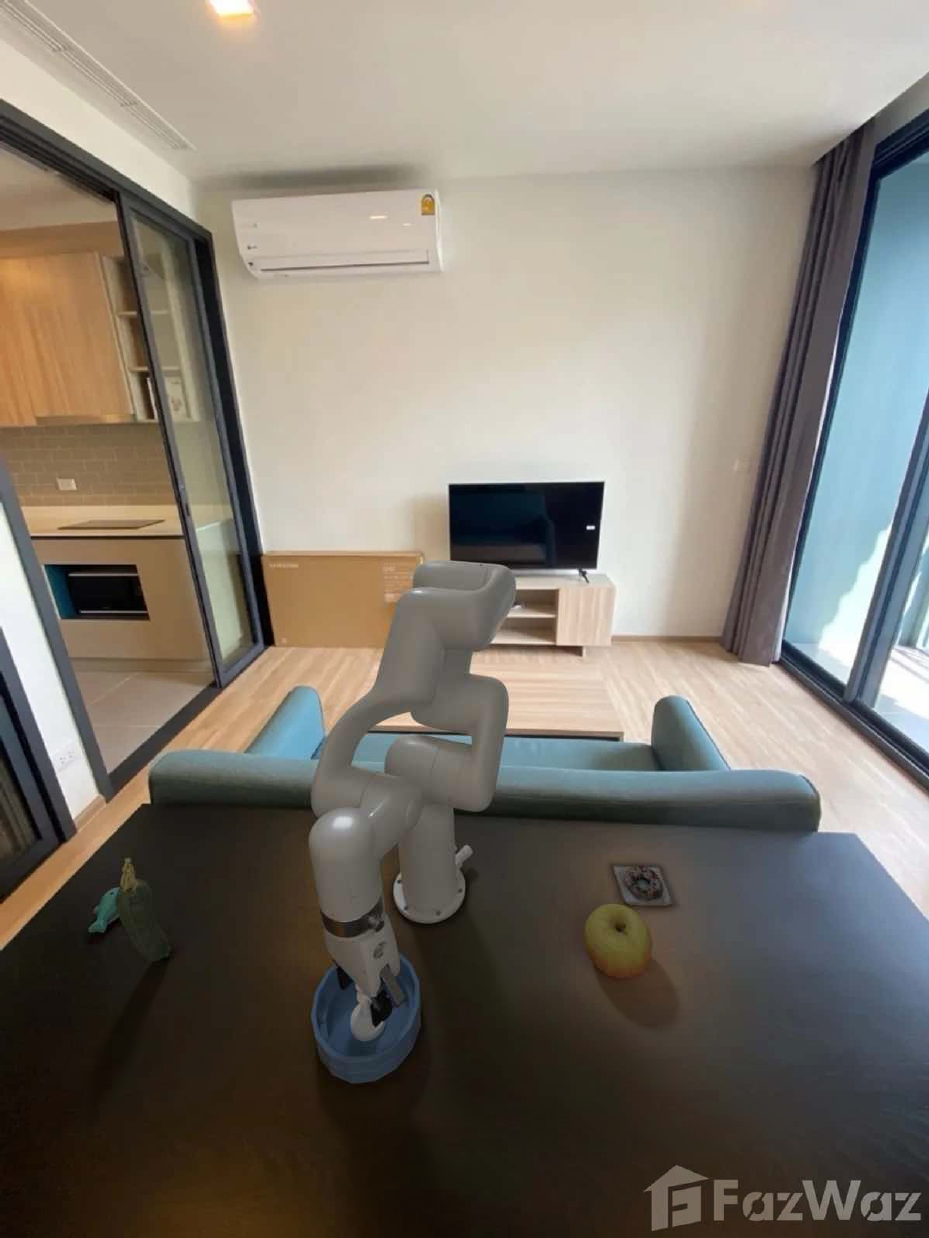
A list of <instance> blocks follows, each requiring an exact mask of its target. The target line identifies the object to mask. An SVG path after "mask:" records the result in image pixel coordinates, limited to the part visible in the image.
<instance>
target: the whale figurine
mask: <svg viewBox="0 0 929 1238" xmlns="http://www.w3.org/2000/svg"><path fill="white" fill-rule="evenodd" d="M120 887H121V886H117V887H114V888H111V889H109V890H108V891H106V892H105V893H104V895H102V897H101V899H100V902H99V904H98V905H96V907H94V909H93V914H94V915H97V916H96V920H95V921H94V922H93V923H92V924H90V926H89V927H88V929H87V931H88V933H96V932H98V933H105V932H106V931H107V928H108V926H109V925H111V923H114V921H116V920H117V919H118V918H119V915H118V912H117V909H116V904H115V901H116V895H117V892H118V890H119V888H120Z"/></svg>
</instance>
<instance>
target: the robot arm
mask: <svg viewBox="0 0 929 1238" xmlns="http://www.w3.org/2000/svg"><path fill="white" fill-rule="evenodd" d="M516 594H517V581H516V577H515V575H514V572H513V571H512V570H511V569H510V568H509V567H507V566H506V565H502V564H497V563H486V562H473V561H472V562H471V561H461V560H448V559H447V560H445V559H439V560H438V559H436V560H428V561H424V562H422V563H420V564H419V565H417V566H416V568H415V570H414V571H413V575H412V588H410V589H408V590H406V591H404V592H403V593H402V594H401V595H400V596H399V598H398V599H397V601H396V604H395V608H394V611H393V614H392V618H391V622H390V625H389V629H388V633H387V636H386V637H387V638H386V641H385V644H384V647H383V651H382V655H381V659H380V662H379V666H378V670H377V674H376V678H375V681H374V684H373V686H372V688H371V689H370V690H369V691H368V692H367V693H365V695H364V696H362V697H361V698H359V699H358V700H357V701H356V702H354V704H352V705H351V706H350V707H349V708H348V709H347V710H346V711H345V713H344V714H342V716H341V717H340V718H339V719H338V721H337V722H336V723H335V725H334V726H332V729H331V730H330V731H329V733H328V735H327V737H326V739H325V741H324V744H323V746H322V748H321V752H320V756H319V759H318V762H317V766H316V770H315V773H314V776H313V781H312V786H311V791H310V806H311V809H312V812H313V814H314V815H315V817H317V818H318V819H317V820H316V821H315V822H314V824H313V826H312V828H311V830H310V831H309V835H308V840H307V843H308V845H307V846H308V853H309V858H310V864H311V868H312V874H313V880H314V885H315V891H316V896H317V901H318V909H319V913H320V918H321V924H322V925H321V929H322V931H323V939H324V942H325V946H326V950H327V951H328V953H329V955H330V956H331V957H332V962H333V965H336V966H337V967H338V968H337V969H336V970H337V976H338V982H339V987H340V988H341V989H342V990H345V989H346V988H347V987H348V986H349V985H350V984H351V983H352V982H353V981H354V982H355V983H356V984H357V985H358V986H359V987H360V988H361V989H362V990H363V991H364V992H365V993H366V994H367V995H368V996H370V999H371V1001H372V1003H371V1004H370V1011H371V1018H372V1024H373V1026H374V1027H375V1028H376V1027H377V1026H378V1025H379V1024H380V1023H381V1022H382V1021H383V1022H384V1021H386V1020H387V1019H388V1017H389V1016H390V1015H391V1013H392V1009H393V1007H394V1008H398V1007H399V1006H400V1005H401V1004H402V1003H403V1002H404V1000H405V996H404V994H403V992H402V991H401V989H400V987H399V985H398V984H397V982H396V980H395V978H394V976H395V977H396V976H397V974H398V973H399V972H400V961H399V954H398V952H399V950H398V945H397V939H396V937H395V936H396V935H395V932H394V929H393V925H392V923H391V921H390V920H391V919H390V918H389V916H388V914H387V913H386V911H385V907H386V906H385V896H384V888H383V887H384V886H383V881H382V871H381V861H382V859H383V858H384V857H385V856H386V855H387V854H388V853H389V852H390V851H391V850H392V849H393V848H394V847H395V846H396V845H397V851H398V859H399V869H400V870H399V871H400V872H398V875H397V876H396V878H395V880H394V883H393V889H392V890H393V892H392V893H393V900H394V905H395V906H396V908H397V910H398V911H399V913H400V914H402V915H403V916H404V917H405V918H406V919H408V920H410V921H412V922H415V923H419V924H434V923H439V922H442V921H444V920H446V919H448V918H449V917H451V916H452V915H453V914H454V913H456V912H457V911H458V910H459V908H460V907H461V905H462V904H463V901H464V899H465V895H466V880H465V877H464V875H463V872H462V871H461V868H462V867H463V863H464V862H465V861H467V859H468V858H469V857H471V856H472V855H473V853H474V852H473V848H472V847H471V846H469V845H468V844H465V845H464V846H463V847H461V849H460V850H458V847H457V845H456V835H455V833H456V832H455V813H454V809H458V810H461V811H462V810H463V811H466V812H472V813H473V812H475V813H476V812H477V813H478V812H482V811H485V810H486V809H487V808H488V807H489V806H490V805H491V803H492V801H493V798H494V795H495V792H496V787H497V782H498V777H499V771H500V766H501V760H502V754H503V747H504V742H505V736H506V730H507V724H508V717H509V711H510V710H509V709H510V698H509V692H508V689H507V686H506V685H505V683H504V682H502V681H501V680H500V679H498V678H495V677H494V676H493V677H492V676H488V675H481V674H475V673H471V672H470V671H471V665H472V661H473V654H474V653H478V652H482V651H484V650H485V649H487V648H488V647H489V646H490V645H491V643H492V642H493V641H494V639H495V637H496V636H497V634H498V632H499V631H500V629H501V628H502V626H503V624H504V622H505V621H506V619H507V617H509V614H510V612H511V610H512V609H513V606H514V604H515V599H516ZM407 713H409V714H410V716H411V718H412V720H413V721H415V723H417V724H420V725H421V726H424V727H428V728H431V729H432V728H433V729H437V730H441V731H442V730H443V731H447V732H452V733H458V734H463V735H468V736H470V738H471V743H467V742H460V741H455V740H451V739H447V738H442V737H436V736H431V735H426V734H419V733H417V734H415V733H410V734H405V735H402V736H399V737H397V738H396V739H395V740H393V742H392V743H391V744H390V745H389V747H388V748H387V751H386V753H385V757H384V762H383V763H384V765H383V772H381V771H379V770H374V769H370V768H365V767H360V766H356V765H352V763H353V760H354V757H355V754H356V751H357V748H358V746H359V745H360V743H361V741H362V739H363V738H364V737H365V736H366V734H368V733H369V732H370V730H371V729H373V728H374V727H376V726H377V725H379V724H380V723H382V722H384V721H386V720H388V719H392V718H394V717H396V716H399V715H405V714H407ZM457 850H458V852H457V853H456V851H457ZM392 974H393V975H394V976H393V975H392ZM381 985H383V987H384V989H383V990H382V991H381V992H380V993H379V994H378V995H377V991H378V990H379V987H380V986H381Z"/></svg>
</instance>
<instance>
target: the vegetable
mask: <svg viewBox="0 0 929 1238" xmlns="http://www.w3.org/2000/svg"><path fill="white" fill-rule="evenodd" d="M123 860H124V861H125V862H124V865H123V866H122V867H121V871H122V875H121V878H120V883H119V884H120V886H119V887H120V888H119V890H118V892H117V895H116V901H115V904H116V909H117V912H118V915H119V917H118V918H119V920H120V922H121V923H122V925H123V927H124V928H125V931H126V933H127V935H128V936H129V938H130V940H131V941H132V943H133V945H134V946H135V947H134V948H136V950H137V952H138V953H139V954H140V955H141V956H142V957H143V958H144V959H145V960H147V961H148V962H151V963H154V962H158V961H160V960H162V959H164V958H166V957H169V955H170V954H169V952H170V951H171V946H170V942H169V940H168V939H167V936H166V935H165V933H164V932H163V930H162V928H161V927H160V926H159V924H158V922H157V920H156V916H155V913H154V905H153V894H152V890H151V888H150V885H148V883H147V882H146V881H145V880H143V879H141V878H136V871H135V868H134V865H133V864H131V863H132V858H131V857H125V858H124V859H123Z"/></svg>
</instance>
